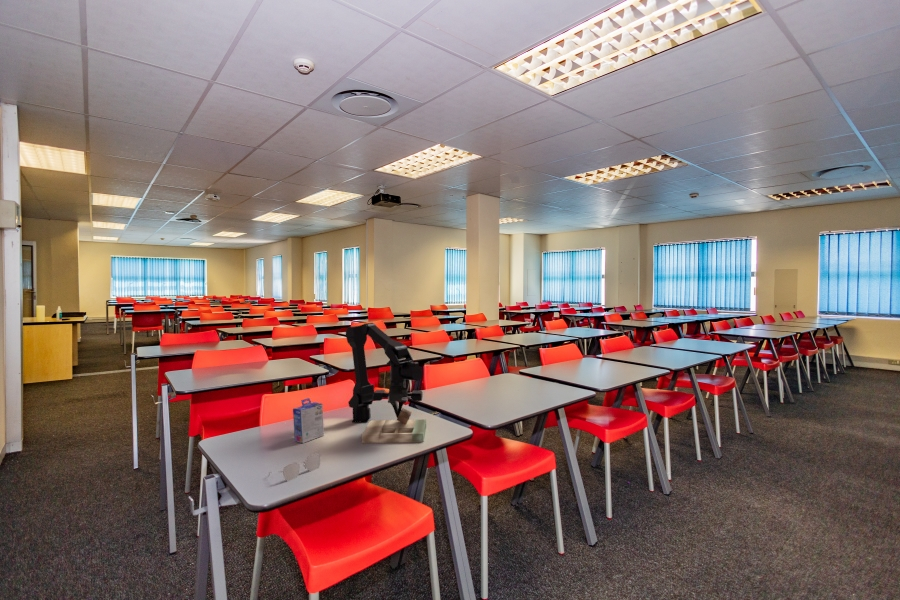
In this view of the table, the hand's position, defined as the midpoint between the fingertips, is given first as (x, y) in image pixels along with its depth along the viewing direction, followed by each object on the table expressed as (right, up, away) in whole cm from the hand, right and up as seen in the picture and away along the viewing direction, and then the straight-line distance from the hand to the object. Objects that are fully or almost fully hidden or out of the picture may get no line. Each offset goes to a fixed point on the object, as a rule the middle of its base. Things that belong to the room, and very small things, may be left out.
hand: (397, 417), depth 163 cm
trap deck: (0, -5, -4) cm, 7 cm away
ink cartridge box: (-32, -6, -5) cm, 33 cm away
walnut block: (+2, -1, 0) cm, 2 cm away
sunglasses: (-27, -8, -34) cm, 44 cm away
